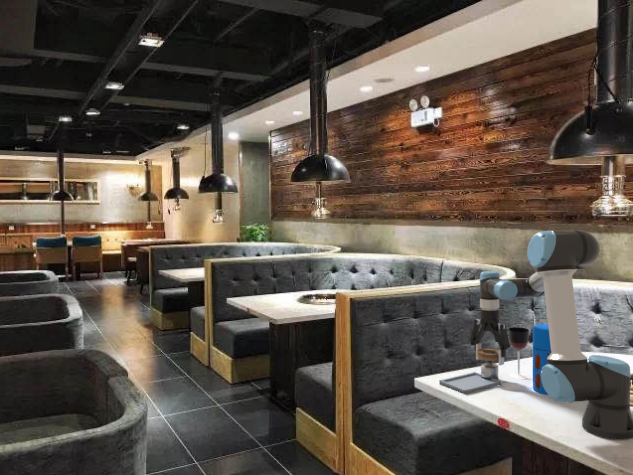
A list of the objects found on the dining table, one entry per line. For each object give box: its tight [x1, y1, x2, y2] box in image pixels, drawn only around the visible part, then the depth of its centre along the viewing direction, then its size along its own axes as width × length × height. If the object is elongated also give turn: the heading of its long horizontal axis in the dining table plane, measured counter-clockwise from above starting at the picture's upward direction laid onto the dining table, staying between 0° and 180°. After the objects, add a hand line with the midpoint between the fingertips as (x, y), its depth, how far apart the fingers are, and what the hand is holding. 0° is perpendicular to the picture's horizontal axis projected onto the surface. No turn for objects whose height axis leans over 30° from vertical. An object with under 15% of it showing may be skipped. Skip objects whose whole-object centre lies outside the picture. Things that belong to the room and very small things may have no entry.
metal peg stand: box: [480, 352, 500, 381], centre depth 218 cm, size 7×7×11 cm
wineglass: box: [508, 326, 530, 380], centre depth 221 cm, size 8×9×20 cm
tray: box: [438, 371, 502, 395], centre depth 213 cm, size 14×20×2 cm
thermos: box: [532, 323, 551, 396], centre depth 203 cm, size 11×11×25 cm
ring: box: [477, 348, 499, 362], centre depth 218 cm, size 10×10×2 cm
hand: (489, 361), depth 218 cm, fingers closed on ring, 10 cm apart
